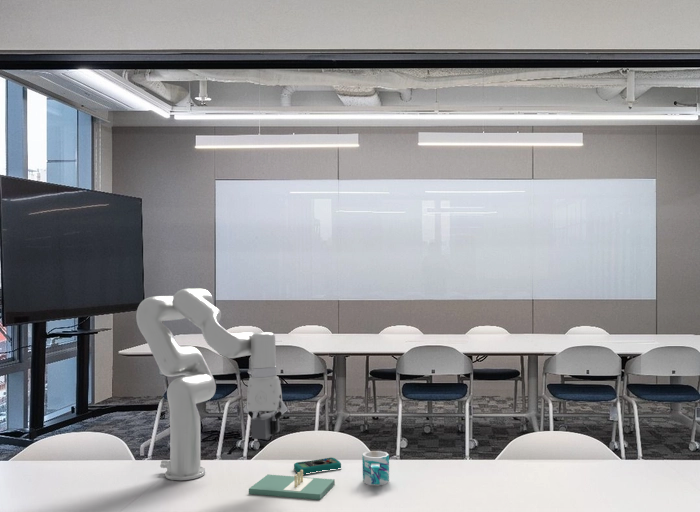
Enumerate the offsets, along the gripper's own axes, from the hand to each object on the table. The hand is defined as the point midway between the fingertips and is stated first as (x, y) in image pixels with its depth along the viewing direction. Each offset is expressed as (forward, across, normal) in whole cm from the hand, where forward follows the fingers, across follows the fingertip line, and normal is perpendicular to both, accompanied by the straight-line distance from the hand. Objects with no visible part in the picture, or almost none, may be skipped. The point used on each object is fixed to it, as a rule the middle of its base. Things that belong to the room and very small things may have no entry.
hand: (266, 432), depth 187 cm
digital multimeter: (+17, +8, +21) cm, 28 cm away
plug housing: (+1, 0, +2) cm, 2 cm away
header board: (+16, +8, 0) cm, 18 cm away
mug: (+17, +31, +12) cm, 37 cm away
